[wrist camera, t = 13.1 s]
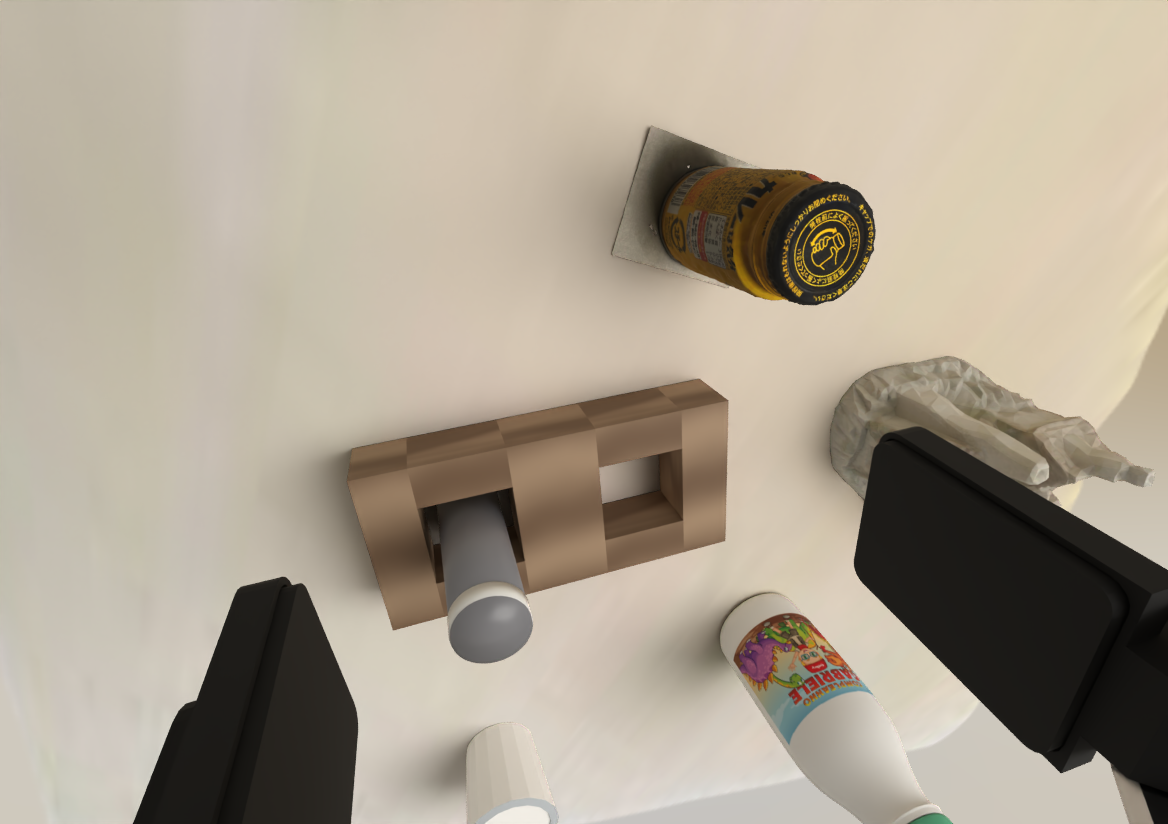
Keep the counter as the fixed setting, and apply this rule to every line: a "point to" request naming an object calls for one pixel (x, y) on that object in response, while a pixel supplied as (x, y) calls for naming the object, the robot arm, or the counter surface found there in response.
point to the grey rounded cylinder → (481, 581)
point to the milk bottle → (823, 713)
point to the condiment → (744, 224)
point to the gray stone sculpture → (971, 427)
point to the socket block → (548, 491)
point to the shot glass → (506, 778)
